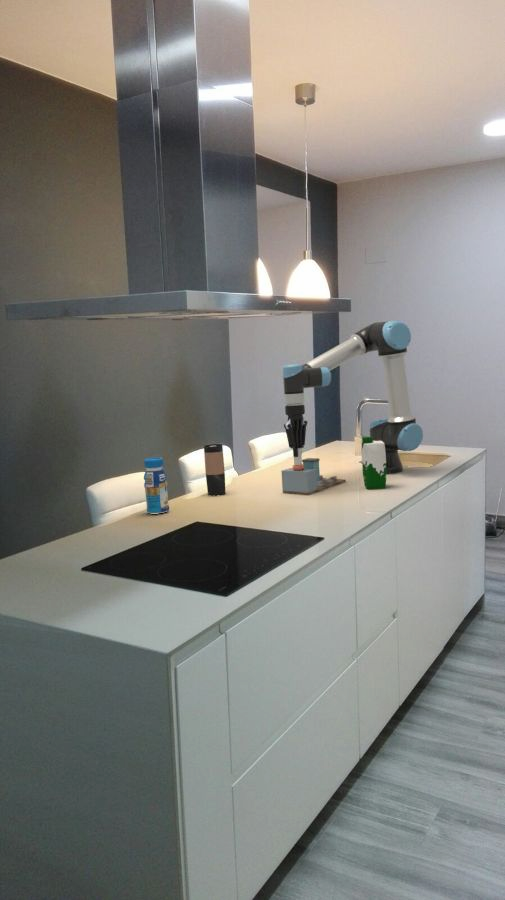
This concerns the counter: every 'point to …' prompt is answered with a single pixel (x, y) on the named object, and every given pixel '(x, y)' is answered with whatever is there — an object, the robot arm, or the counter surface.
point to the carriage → (312, 465)
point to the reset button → (298, 467)
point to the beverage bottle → (155, 486)
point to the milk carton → (373, 463)
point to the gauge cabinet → (299, 480)
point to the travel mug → (214, 469)
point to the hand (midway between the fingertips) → (298, 464)
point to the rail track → (321, 485)
